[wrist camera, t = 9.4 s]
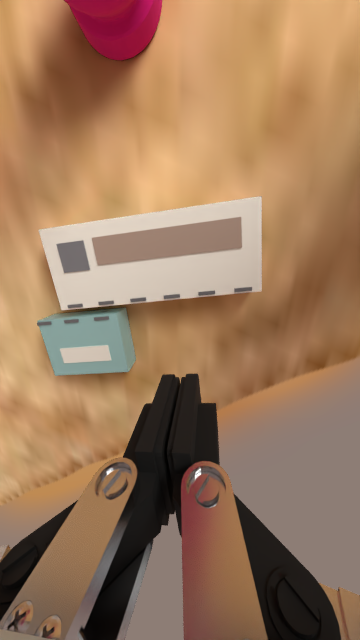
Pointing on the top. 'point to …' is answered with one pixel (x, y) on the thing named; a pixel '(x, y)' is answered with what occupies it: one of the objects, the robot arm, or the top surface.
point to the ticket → (158, 255)
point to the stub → (89, 341)
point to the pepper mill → (117, 24)
